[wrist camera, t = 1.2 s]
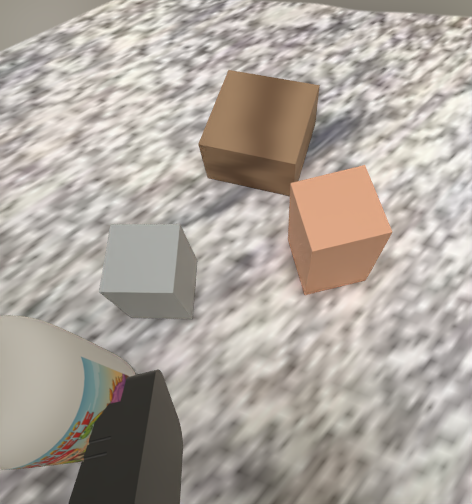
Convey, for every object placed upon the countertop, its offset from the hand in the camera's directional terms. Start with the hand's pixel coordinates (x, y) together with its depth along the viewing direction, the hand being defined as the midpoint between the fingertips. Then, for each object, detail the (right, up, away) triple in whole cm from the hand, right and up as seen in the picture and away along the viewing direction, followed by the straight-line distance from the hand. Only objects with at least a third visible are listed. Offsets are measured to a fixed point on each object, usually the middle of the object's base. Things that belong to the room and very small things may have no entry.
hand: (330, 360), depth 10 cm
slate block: (-8, 0, +26) cm, 27 cm away
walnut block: (0, +12, +30) cm, 32 cm away
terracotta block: (+5, +2, +25) cm, 26 cm away
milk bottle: (-13, -9, +23) cm, 28 cm away
